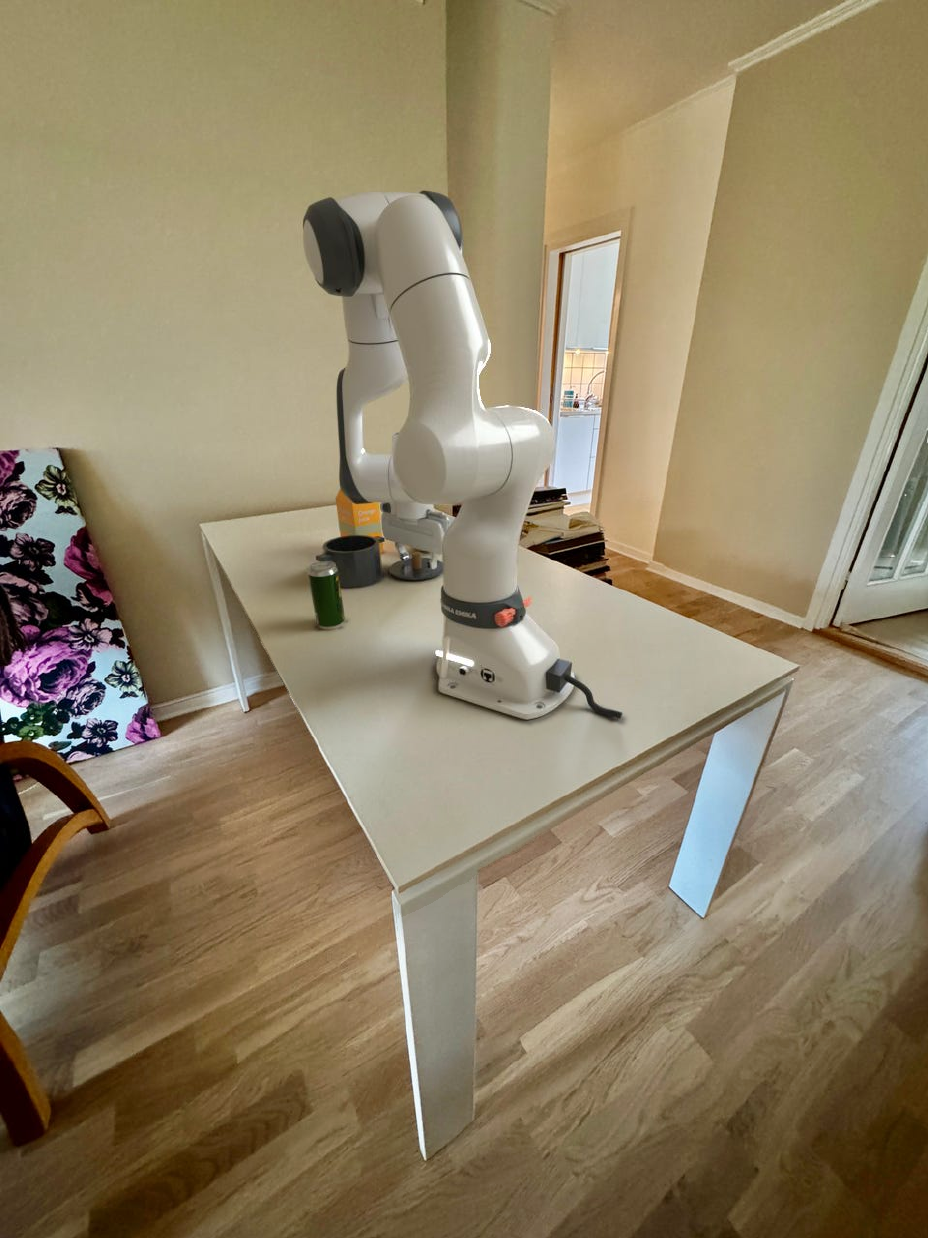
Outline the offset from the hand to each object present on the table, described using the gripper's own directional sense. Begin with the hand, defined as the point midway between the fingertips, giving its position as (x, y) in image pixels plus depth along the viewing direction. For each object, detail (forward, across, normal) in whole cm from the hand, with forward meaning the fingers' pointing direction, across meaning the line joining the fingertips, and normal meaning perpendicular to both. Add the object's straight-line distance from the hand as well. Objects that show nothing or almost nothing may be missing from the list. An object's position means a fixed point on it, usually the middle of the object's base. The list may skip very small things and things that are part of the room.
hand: (418, 563), depth 116 cm
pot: (+2, +9, +12) cm, 15 cm away
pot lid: (+1, 0, 0) cm, 1 cm away
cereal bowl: (+2, +10, -15) cm, 18 cm away
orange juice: (+2, +22, -1) cm, 22 cm away
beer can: (+2, -6, +30) cm, 31 cm away
